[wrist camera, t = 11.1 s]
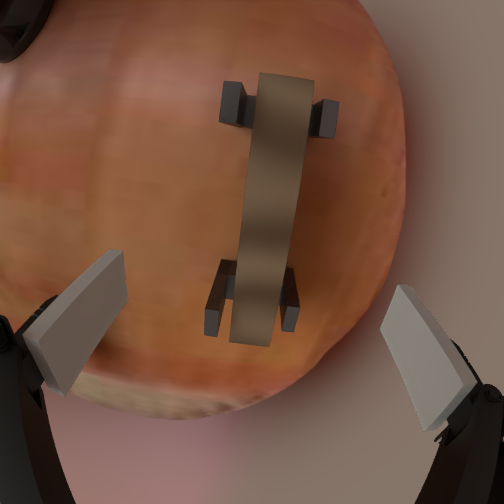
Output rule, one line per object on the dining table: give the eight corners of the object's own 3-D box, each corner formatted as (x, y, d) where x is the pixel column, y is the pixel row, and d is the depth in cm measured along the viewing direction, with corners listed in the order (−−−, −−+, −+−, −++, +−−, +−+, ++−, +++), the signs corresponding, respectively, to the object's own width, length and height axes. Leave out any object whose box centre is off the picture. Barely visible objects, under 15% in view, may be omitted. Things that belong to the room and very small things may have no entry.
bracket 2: (221, 259, 33) (204, 308, 23) (293, 268, 33) (302, 320, 24) (219, 281, 34) (204, 335, 25) (288, 290, 34) (295, 345, 25)
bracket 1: (237, 98, 25) (223, 80, 16) (319, 110, 25) (346, 99, 16) (234, 126, 27) (218, 121, 17) (315, 137, 27) (340, 139, 17)
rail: (260, 84, 22) (259, 72, 17) (305, 90, 22) (314, 80, 17) (234, 313, 31) (229, 342, 27) (269, 317, 31) (269, 346, 27)
